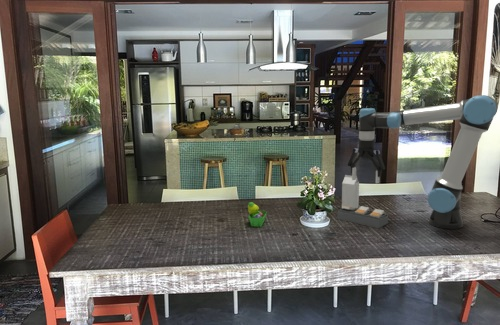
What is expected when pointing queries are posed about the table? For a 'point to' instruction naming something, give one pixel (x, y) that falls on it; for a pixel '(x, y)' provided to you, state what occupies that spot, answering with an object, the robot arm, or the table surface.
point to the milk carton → (350, 192)
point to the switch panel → (362, 218)
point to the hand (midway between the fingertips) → (365, 181)
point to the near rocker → (377, 213)
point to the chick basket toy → (256, 215)
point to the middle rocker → (362, 210)
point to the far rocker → (348, 207)
